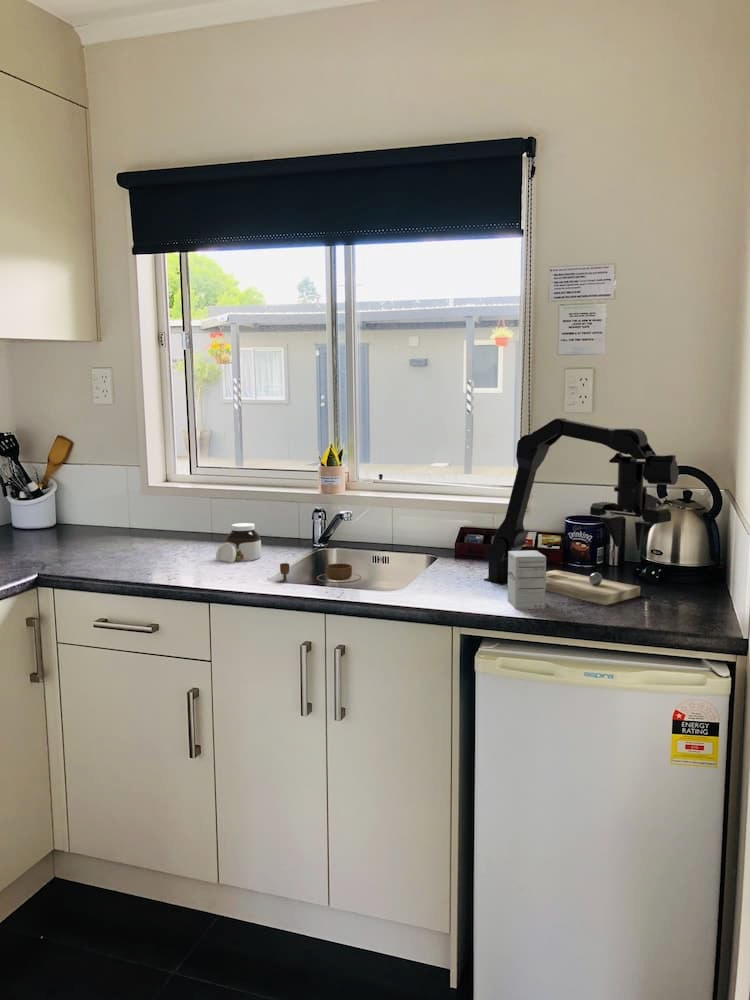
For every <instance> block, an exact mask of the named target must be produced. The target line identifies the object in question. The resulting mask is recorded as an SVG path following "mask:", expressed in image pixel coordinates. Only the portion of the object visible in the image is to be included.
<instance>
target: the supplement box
mask: <svg viewBox="0 0 750 1000" xmlns="http://www.w3.org/2000/svg"><path fill="white" fill-rule="evenodd" d="M546 572H547V556H546V555H545V554H543V553H541V552H540V551H538V550H534V549H533V550H519V551H508V583H507V602H508V603H509V604H510V605H511V606H512V607H513V608H514V609H515V610H526V609H527V610H528V609H531V610H532V609H535V610H536V609H546V591H545V589H546Z"/></svg>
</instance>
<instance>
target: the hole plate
mask: <svg viewBox="0 0 750 1000" xmlns="http://www.w3.org/2000/svg"><path fill="white" fill-rule="evenodd" d="M589 576H590V575H589ZM589 576H588V575H583V574H580V573H579V574H578V573H573V572H568V571H563V570H560V569H558V570H557V569H554V570H548V571H546V589H545V592H546V591H547V592H551V593H554V594H558V595H562V596H566V597H571V598H575V599H578V600H583V601H587V602H589V603H590V602H591V603H594V604H599V605H603V606H607V605H611V604H612V605H613V604H614V603H619V602H622V601H625V600H629V599H632V598H633V599H634V598H637V597H640V596H641V586H640V585H634V584H630V583H629V584H628V583H623V582H618V581H613V580H609V579H605V578H602V582H601V584H599V585H592V584H591V583H590V581H589ZM636 596H637V597H636Z"/></svg>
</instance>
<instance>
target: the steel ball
mask: <svg viewBox="0 0 750 1000" xmlns="http://www.w3.org/2000/svg"><path fill="white" fill-rule="evenodd" d="M602 579H603V576H602V574H601V573H599V572H592V573H591V574H590V575H589V581H590V583H591V584H592V585H599V584H601V582H602Z"/></svg>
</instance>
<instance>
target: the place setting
mask: <svg viewBox="0 0 750 1000" xmlns="http://www.w3.org/2000/svg"><path fill="white" fill-rule="evenodd" d="M279 570H280V572H279V573H281V575H282V577H283V578H282V581H284V582H286V581H288V579H287V575H288V574H289V573H290V563H286V562H285V563H280V564H279ZM324 575H326V577H327V579H329V580H331V581H326V580H322V579H319V577H321V576H324ZM354 575H355V576H358V577H359V578H358V579H354V580H349V579H351V577H352V576H353V566H352V565H351V564H349V563H331V564H327V565H326V566H325V573H324V574H320V575H318V576H317V577H316V579H317V580H318V581H319V582H323V583H328V584H330V583H331V584H346V583H348V584H349V583H354V582H358V581H360V580H362V576H361V575H359V574H356V573H354ZM346 580H349V581H346Z"/></svg>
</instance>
